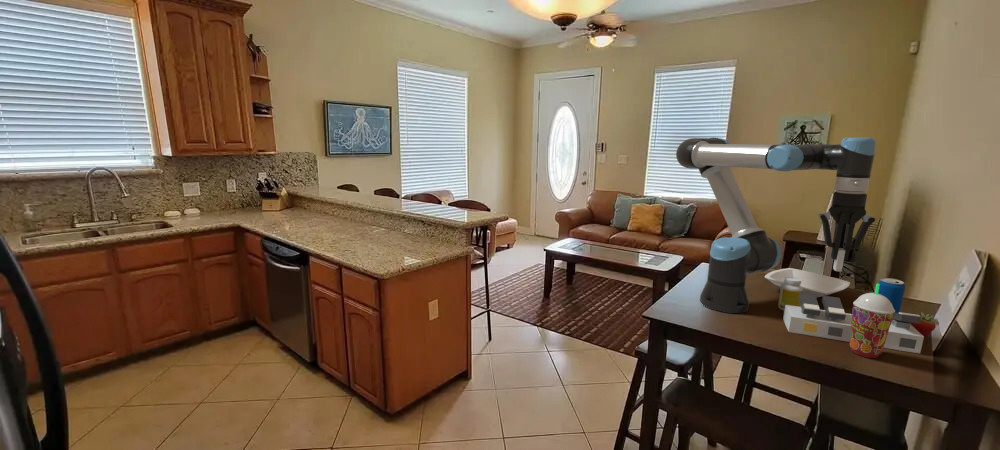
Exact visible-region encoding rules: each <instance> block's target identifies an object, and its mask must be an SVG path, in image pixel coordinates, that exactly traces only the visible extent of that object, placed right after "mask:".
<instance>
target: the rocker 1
mask: <svg viewBox="0 0 1000 450" xmlns="http://www.w3.org/2000/svg"><path fill="white" fill-rule="evenodd" d="M798 298H799V302H800V307H801V309H802V313H803V314H808V315H815V316H819V315H820V310H821V308H820V304H819V303H818V300H817V298H816V296H815V295H812V294H804V293H799V297H798Z"/></svg>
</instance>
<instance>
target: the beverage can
mask: <svg viewBox="0 0 1000 450" xmlns="http://www.w3.org/2000/svg"><path fill="white" fill-rule="evenodd" d="M877 284H880V286H879V291H878V294H881V295H883V296H885V297H886V298H888V300H889V301H890V302H891V304H892V306H893V308H894V310H895V313H899V312H901V308H902V307H901V306H902V304H903V298H904V293H905V289H906V286H905V282H904V281H902V280H900V279H896V278H890V277H889V278H888V277H882V278H880V280H879V281H878V283H877Z"/></svg>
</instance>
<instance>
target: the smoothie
mask: <svg viewBox="0 0 1000 450" xmlns="http://www.w3.org/2000/svg"><path fill="white" fill-rule="evenodd" d="M879 286H880V284H878V283H876V285H875V290H874V292H867V293H863V294H861V295H859V296H858V298H856V299H855V300H854V301H853V302H852V303H853V305H852V313H851V314H852V322H851V332H850V342H848V345H849V347H850V350H851V351H852V352H853V353H854V354H855V355H858V356H861V357H864V358H869V359H877V358H878V357H879V356H880V355H882V354H883V351H884V349H885V348H884V344H885V341H886V338H887V335H888V331H889V328H890V325H891V321H892V320H893V319H892V318H893V315H894V312H895V310H894V308H893V306H892V304H891V302H890V301H889V300H888V298H886V297H885V296H883V295H881V294H878V291H879Z"/></svg>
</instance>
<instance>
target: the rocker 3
mask: <svg viewBox="0 0 1000 450" xmlns="http://www.w3.org/2000/svg"><path fill="white" fill-rule="evenodd" d="M920 316H921V315H920V314H917V315H916V314H914V313H907V312H901V311H900V312H899V313H895V312H894V315H893V318H892V320H898V321H905V322H909V323H910V322H913V323H921V317H920Z"/></svg>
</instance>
